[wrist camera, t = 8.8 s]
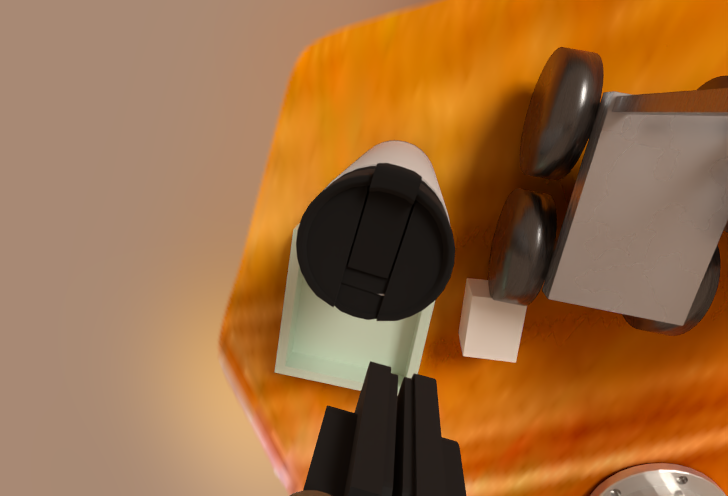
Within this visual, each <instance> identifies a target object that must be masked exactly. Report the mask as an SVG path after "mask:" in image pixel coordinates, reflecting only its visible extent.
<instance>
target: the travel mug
mask: <svg viewBox="0 0 728 496" xmlns="http://www.w3.org/2000/svg"><path fill="white" fill-rule="evenodd" d="M296 251H297V260H298V263H299V267H300V270H301V273H302V275H303V277H304V279H305V280H306V282H307V284H308V286H309V287H310V288H311V290H312V291H313V292H314V293H315V295H316V296H317V297H319V298H320V299H322V300H323V301H324V302H326V303H327V304H329V305H330V306H332V307H334V306H335V307H336V308H337V309H339V310H340V311H341V312H343V313H346V314H348V315H351V316H353V317H357V318H361V319H366V320H371V319H377V320H376V321H398V320H402V319H405V318H408V317H411V316H413V315H415V314H417V313H419V312H421V311H422V310H424V309H425V308H426V307H428V306H429V305H430V304H431V303H433V302H434V301H435V300H436V299H437V297H438V296H439V295H440V294H441V293H442V291H443V290H444V288H445V286H446V284H447V283H448V281H449V279H450V277H451V273H452V269H453V266H454V257H455V246H454V239H453V233H452V230H451V227H450V221H449V216H448V213H447V209H446V206H445V203H444V200H443V197H442V194H441V191H440V187H439V184H438V181H437V178H436V175H435V172H434V169H433V166H432V164H431V162H430V160H429V158H428V157H427V155H426V154H425V153H424V152H423V151H422V150H421V149H419V148H418V147H416V146H415V145H413V144H410V143H408V142H404V141H387V142H382V143H380V144H378V145H375V146H374V147H373V148H371V149H370V150H368V151H367V152H366V153H365V154H364V155H362V156H361V157H360V158H359V159H358V160H356V161H355V162H354V163H353V164H352V165H351V166H349V167H348V168H347V169H346V170H345V171H343V172H342V173H341V174H340V175H339V176H338V177H336V178H335V179H334V180H333V181H332V182H331V183H330V184H329V185H328V186H327V187H326V188H325V189H324V190H323V191H322V192H321V193H320V194H319V195H318V196H317V197H316V198H315V199H314V200H313V201H312V202H311V203H310V205H309V206H308V208H307V210H306V211H305V213H304V214H303V216H302V219H301V222H300V225H299V227H298V231H297V239H296Z"/></svg>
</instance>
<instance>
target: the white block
mask: <svg viewBox="0 0 728 496" xmlns="http://www.w3.org/2000/svg"><path fill="white" fill-rule="evenodd" d="M526 309H527V306H520V305H515V304H510V303H505V302H501V301H496V300H493V299H492V298H491V296H490V292H489V285H488V280H482V279H473V278H467V280H466V286H465V293H464V300H463V306H462V313H461V319H460V326H459V332H458V333H459V338H460V344H461V349H462V354H463V356H466V357H474V358H483V359H491V360H499V361H507V362H515V363H516V359H517V354H518V349H519V344H520V339H521V334H522V329H523V324H524V319H525V314H526Z"/></svg>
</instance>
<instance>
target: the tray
mask: <svg viewBox="0 0 728 496" xmlns="http://www.w3.org/2000/svg"><path fill="white" fill-rule="evenodd" d="M299 225H300V223H299V224H298V225H297V226H296V227H295V228H294V229H293V237H292V244H291V252H290V259H289V267H288V274H287V282H286V289H285V297H284V305H283V312H282V320H281V327H280V335H279V342H278V350H277V357H276V365H275V373H280V374H284V375H289V376H294V377H298V378H303V379H308V380H312V381H317V382H322V383H326V384H331V385H336V386H340V387H345V388H350V389H354V390H359V391H361V390H362V386H363V383H364V379H365V376H366V372H367V369H368V366H369V363H370V361H371V362H375V363H379V364H382V365H386V366H389V367H391V373H393V374H396V375H398V393H399V390H400V387H401V384H402V381H403V378H404V377H407V378H412V376H413V374H414V373H415V374H418V371H419V366H420V362H421V358H422V354H423V350H424V345H425V341H426V337H427V333H428V329H429V325H430V320H431V316H432V312H433V308H434V304H435V301H434V302H433V303H431V304H430V305H429V306H428V307H426V308H425V309H424V310H422V311H421V312H419V313H417V314H415V315H413V316H411V317H408V318H405V319H402V320H398V321H376V320H377V319H371V320H366V319H361V318H357V317H353V316H351V315H348V314H346V313H343V312H341V311H340V310H339V309H337V308H336V307H335V306H334V307H332V306H330V305H329V304H327V303H326V302H324V301H323V300H322V299H320V298H319V297H317V296H316V295H315V293H314V292H313V291H312V290H311V288H310V287H309V286H308V284H307V282H306V280H305V279H304V277H303V275H302V273H301V270H300V267H299V263H298V260H297V251H296V239H297V231H298V227H299ZM397 396H398V394H397Z"/></svg>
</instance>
